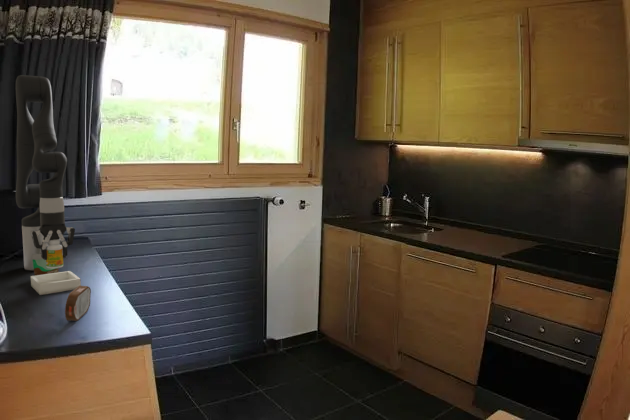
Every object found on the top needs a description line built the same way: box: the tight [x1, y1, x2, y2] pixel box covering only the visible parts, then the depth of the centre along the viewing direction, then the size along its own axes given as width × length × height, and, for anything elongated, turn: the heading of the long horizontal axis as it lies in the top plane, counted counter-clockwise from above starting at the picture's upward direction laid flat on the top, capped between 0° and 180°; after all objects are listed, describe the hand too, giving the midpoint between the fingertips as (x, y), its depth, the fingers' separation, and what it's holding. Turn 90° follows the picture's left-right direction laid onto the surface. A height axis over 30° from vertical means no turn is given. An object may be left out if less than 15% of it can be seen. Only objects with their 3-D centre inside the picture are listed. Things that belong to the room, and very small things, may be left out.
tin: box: [64, 284, 92, 322], centre depth 159 cm, size 15×3×8 cm, turn 5°
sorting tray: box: [30, 270, 82, 296], centre depth 187 cm, size 13×13×4 cm
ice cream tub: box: [31, 253, 60, 276], centre depth 200 cm, size 12×6×10 cm, turn 168°
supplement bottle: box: [46, 239, 64, 269], centre depth 186 cm, size 5×5×10 cm
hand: (54, 258), depth 186 cm, fingers closed on supplement bottle, 5 cm apart
